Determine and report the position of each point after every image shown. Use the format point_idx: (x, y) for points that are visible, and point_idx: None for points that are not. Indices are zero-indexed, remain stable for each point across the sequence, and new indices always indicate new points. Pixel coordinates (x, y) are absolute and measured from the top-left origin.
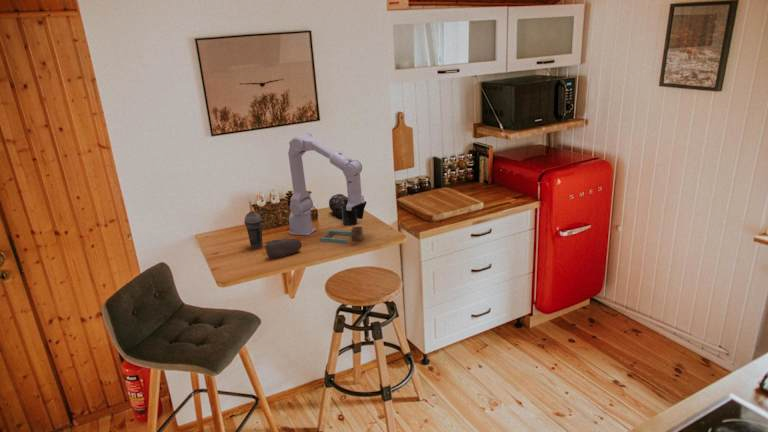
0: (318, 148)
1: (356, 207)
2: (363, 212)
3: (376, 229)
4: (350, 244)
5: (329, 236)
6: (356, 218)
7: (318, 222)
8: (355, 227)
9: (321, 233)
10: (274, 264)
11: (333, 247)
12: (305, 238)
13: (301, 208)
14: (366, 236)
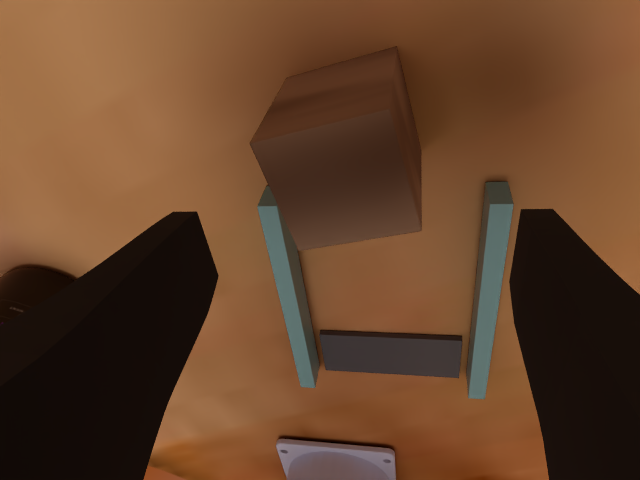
0: None
1: (123, 470)
2: (92, 271)
3: (7, 30)
4: (531, 126)
5: (377, 350)
6: (2, 298)
7: (169, 448)
8: (315, 214)
9: (325, 401)
10: None
11: (628, 252)
12: (439, 448)
13: None
14: (244, 50)
